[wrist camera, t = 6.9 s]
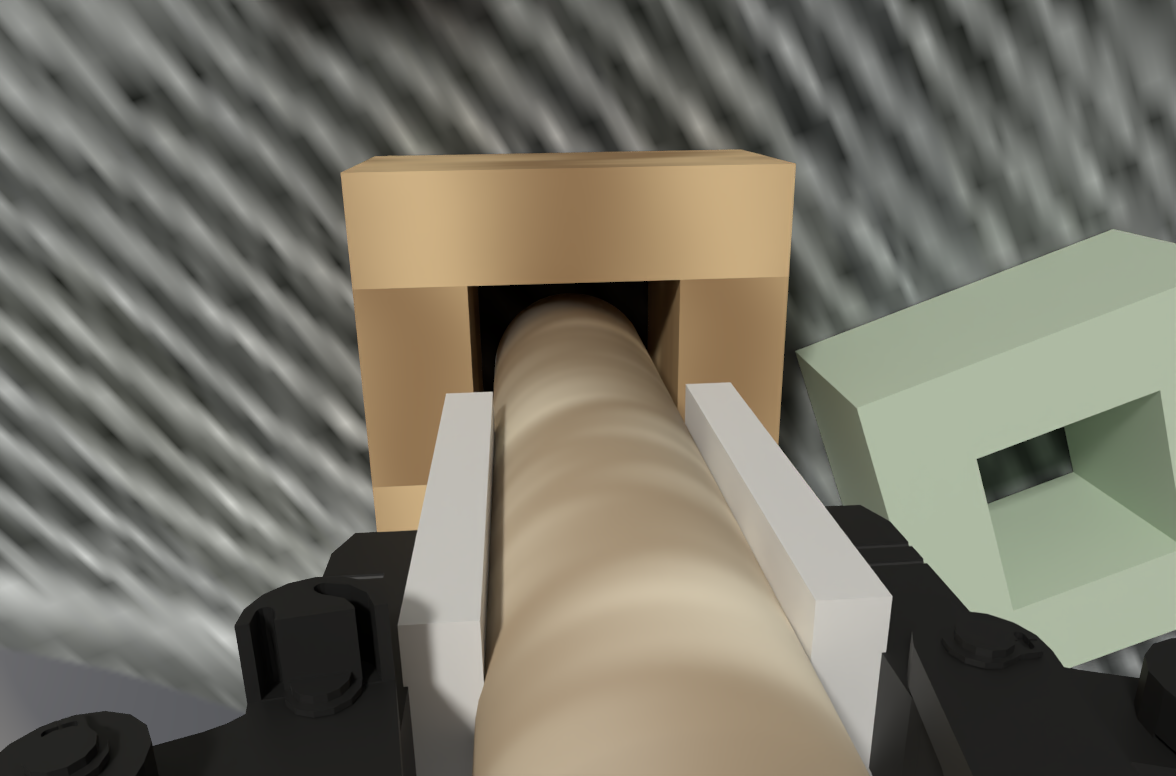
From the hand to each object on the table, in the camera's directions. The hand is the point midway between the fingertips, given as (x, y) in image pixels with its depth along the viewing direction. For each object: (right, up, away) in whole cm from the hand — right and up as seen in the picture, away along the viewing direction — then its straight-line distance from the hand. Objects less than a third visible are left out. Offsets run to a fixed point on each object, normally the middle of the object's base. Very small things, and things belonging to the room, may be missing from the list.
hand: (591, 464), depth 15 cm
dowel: (0, +2, +5) cm, 5 cm away
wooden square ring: (-1, +3, +8) cm, 9 cm away
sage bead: (+11, 0, +10) cm, 15 cm away
